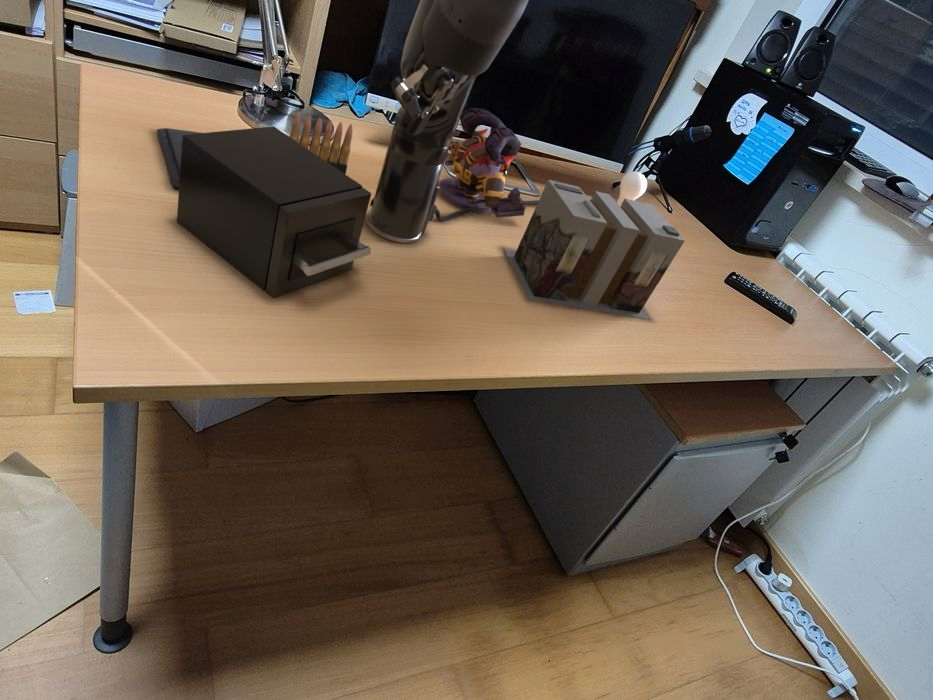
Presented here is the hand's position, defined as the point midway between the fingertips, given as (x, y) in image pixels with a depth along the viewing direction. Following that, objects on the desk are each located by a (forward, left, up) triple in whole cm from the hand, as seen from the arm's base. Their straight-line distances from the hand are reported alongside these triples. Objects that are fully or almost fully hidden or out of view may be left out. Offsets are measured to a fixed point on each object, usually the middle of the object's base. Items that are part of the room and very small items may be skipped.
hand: (409, 129), depth 72 cm
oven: (+6, -16, -26) cm, 31 cm away
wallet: (+1, -39, -26) cm, 47 cm away
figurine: (-45, -21, -26) cm, 56 cm away
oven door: (+3, -5, -25) cm, 26 cm away
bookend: (-44, +9, -26) cm, 52 cm away
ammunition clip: (-13, -31, -26) cm, 43 cm away
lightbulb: (-86, -8, -26) cm, 90 cm away
